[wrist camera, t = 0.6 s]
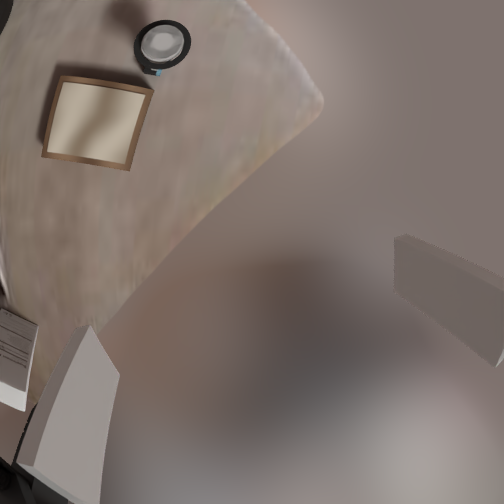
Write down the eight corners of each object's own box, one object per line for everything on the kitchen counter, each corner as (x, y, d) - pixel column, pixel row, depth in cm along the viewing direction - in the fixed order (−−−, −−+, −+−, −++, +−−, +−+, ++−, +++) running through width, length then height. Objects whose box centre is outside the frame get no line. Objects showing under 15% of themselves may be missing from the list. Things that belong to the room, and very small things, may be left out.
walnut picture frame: (49, 152, 25) (40, 157, 23) (67, 77, 21) (60, 75, 19) (131, 165, 31) (129, 171, 28) (154, 91, 27) (154, 90, 24)
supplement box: (34, 351, 38) (25, 413, 27) (-1, 334, 33) (-17, 394, 21) (39, 325, 36) (26, 393, 25) (1, 306, 31) (-21, 371, 19)
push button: (149, 27, 22) (151, 1, 14) (189, 36, 24) (206, 13, 17) (132, 74, 25) (124, 62, 17) (172, 81, 27) (181, 73, 19)
